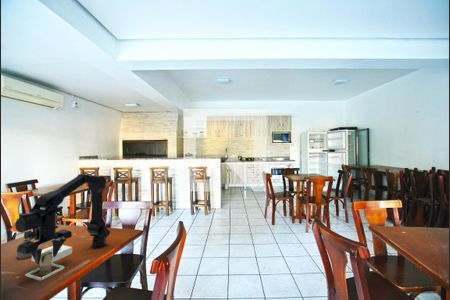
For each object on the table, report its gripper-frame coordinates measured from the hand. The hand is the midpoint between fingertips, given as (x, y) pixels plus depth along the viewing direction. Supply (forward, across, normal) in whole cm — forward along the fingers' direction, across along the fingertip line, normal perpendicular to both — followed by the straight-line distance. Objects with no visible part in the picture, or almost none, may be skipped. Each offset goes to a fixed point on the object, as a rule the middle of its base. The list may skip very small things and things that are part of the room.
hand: (46, 260), depth 96 cm
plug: (+5, 0, 0) cm, 5 cm away
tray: (+6, 0, 0) cm, 6 cm away
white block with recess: (+6, -10, -10) cm, 15 cm away
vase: (+6, -6, -22) cm, 24 cm away
